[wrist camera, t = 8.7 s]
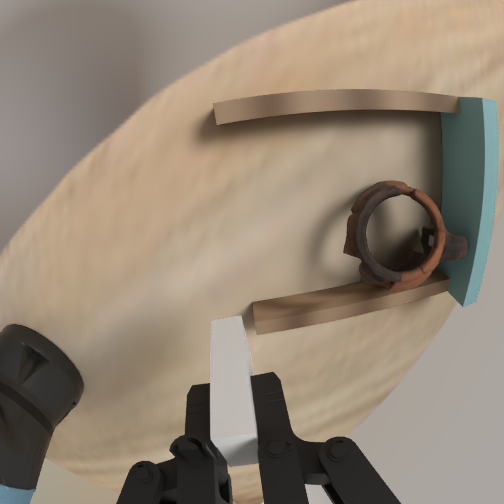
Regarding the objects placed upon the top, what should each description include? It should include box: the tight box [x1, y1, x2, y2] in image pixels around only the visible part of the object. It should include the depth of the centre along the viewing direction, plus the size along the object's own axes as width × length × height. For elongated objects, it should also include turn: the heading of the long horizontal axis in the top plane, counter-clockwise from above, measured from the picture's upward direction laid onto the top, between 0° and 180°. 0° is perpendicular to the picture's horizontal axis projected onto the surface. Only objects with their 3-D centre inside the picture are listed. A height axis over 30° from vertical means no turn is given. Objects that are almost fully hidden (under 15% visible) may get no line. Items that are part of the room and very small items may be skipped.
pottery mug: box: [343, 181, 468, 292], centre depth 22 cm, size 12×10×8 cm
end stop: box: [437, 97, 499, 307], centre depth 21 cm, size 2×19×6 cm, turn 9°
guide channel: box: [213, 89, 460, 335], centre depth 22 cm, size 20×19×3 cm
